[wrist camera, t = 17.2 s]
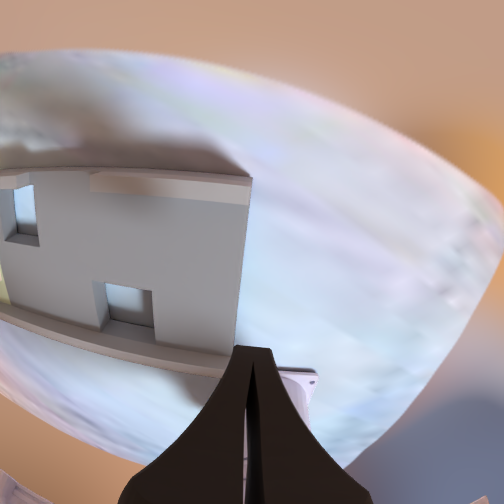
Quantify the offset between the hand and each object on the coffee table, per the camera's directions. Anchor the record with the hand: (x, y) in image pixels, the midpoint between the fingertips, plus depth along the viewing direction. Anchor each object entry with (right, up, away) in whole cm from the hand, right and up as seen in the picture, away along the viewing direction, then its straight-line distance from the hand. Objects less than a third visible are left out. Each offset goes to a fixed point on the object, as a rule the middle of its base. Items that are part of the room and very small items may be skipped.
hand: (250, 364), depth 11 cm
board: (-15, +4, +10) cm, 18 cm away
